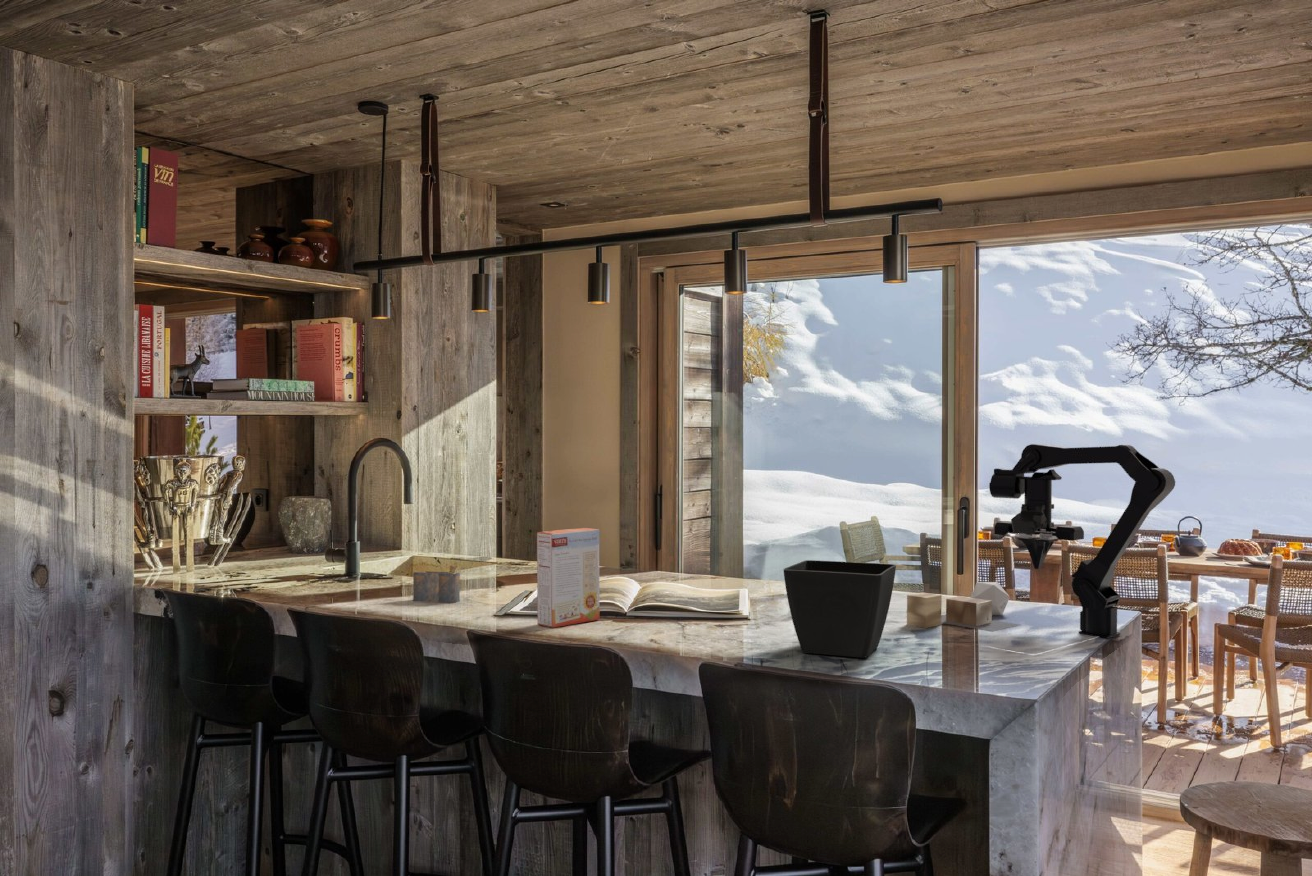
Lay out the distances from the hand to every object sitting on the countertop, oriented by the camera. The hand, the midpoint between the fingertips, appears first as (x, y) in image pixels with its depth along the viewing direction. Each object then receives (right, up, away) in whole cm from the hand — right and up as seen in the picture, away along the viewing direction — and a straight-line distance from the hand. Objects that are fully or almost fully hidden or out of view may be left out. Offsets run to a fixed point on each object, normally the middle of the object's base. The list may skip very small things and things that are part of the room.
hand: (1037, 569), depth 226 cm
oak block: (-26, -13, -1) cm, 29 cm away
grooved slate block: (-141, -12, +27) cm, 144 cm away
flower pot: (-49, -13, -27) cm, 58 cm away
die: (-6, -13, +14) cm, 20 cm away
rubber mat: (-14, -13, +3) cm, 19 cm away
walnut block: (-12, -10, 0) cm, 15 cm away
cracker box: (-106, -12, 0) cm, 106 cm away
